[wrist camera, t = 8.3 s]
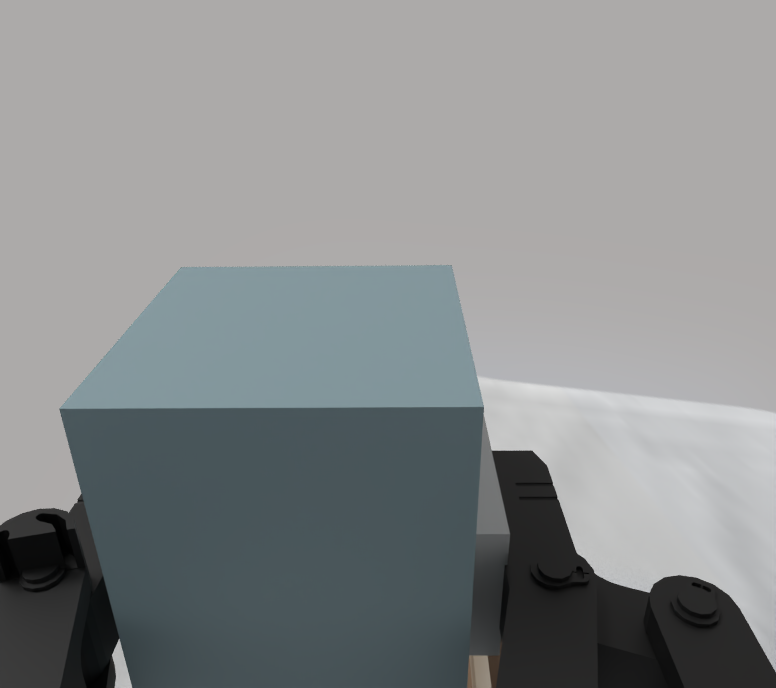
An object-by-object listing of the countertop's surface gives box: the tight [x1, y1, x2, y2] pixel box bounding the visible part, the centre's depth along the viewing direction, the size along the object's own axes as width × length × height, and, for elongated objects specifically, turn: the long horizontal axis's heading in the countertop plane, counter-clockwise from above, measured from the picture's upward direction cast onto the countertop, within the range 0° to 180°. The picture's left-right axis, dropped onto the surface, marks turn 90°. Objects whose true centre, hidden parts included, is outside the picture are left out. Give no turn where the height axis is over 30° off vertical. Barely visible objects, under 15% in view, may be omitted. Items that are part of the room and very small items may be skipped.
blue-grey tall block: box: [60, 265, 484, 688], centre depth 13 cm, size 5×5×11 cm
